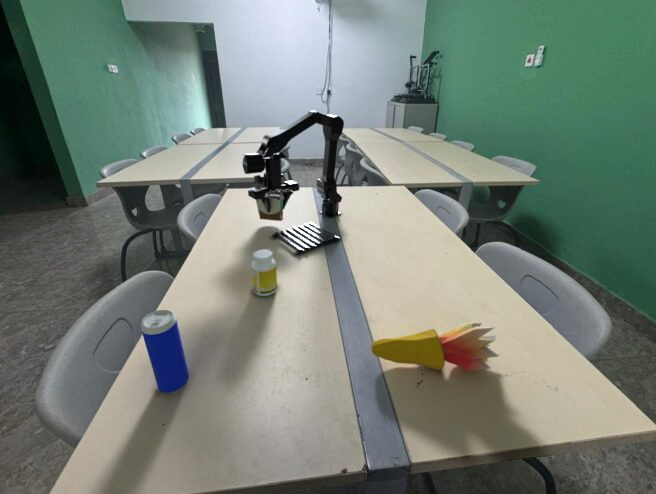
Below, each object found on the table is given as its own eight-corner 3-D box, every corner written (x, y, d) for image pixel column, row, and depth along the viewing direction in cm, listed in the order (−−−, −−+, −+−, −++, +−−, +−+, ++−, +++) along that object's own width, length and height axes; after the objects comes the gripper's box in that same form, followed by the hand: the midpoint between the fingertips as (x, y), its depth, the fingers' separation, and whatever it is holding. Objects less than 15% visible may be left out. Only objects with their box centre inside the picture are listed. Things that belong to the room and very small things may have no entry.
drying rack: (312, 224, 123) (312, 221, 123) (339, 240, 112) (339, 236, 112) (272, 237, 112) (272, 233, 112) (297, 255, 101) (297, 251, 101)
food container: (292, 216, 123) (290, 191, 120) (284, 221, 117) (281, 195, 114) (266, 214, 128) (263, 190, 124) (256, 218, 122) (253, 193, 119)
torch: (372, 368, 67) (491, 357, 66) (376, 385, 59) (511, 373, 58) (368, 329, 67) (486, 318, 67) (371, 340, 59) (505, 327, 59)
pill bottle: (281, 285, 86) (279, 250, 82) (269, 299, 81) (267, 262, 76) (261, 281, 88) (258, 246, 83) (249, 293, 83) (245, 257, 78)
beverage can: (165, 371, 60) (148, 308, 54) (193, 370, 61) (179, 307, 54) (153, 396, 55) (133, 330, 49) (183, 394, 56) (167, 329, 50)
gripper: (283, 163, 125) (285, 200, 132) (239, 169, 114) (243, 210, 120) (299, 169, 118) (300, 208, 124) (253, 176, 106) (257, 219, 113)
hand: (275, 210), depth 121 cm, fingers closed on food container, 6 cm apart
